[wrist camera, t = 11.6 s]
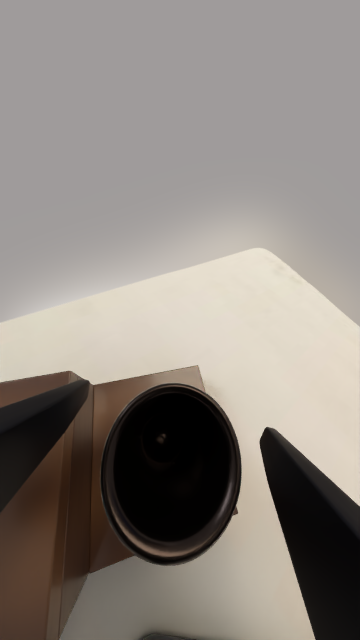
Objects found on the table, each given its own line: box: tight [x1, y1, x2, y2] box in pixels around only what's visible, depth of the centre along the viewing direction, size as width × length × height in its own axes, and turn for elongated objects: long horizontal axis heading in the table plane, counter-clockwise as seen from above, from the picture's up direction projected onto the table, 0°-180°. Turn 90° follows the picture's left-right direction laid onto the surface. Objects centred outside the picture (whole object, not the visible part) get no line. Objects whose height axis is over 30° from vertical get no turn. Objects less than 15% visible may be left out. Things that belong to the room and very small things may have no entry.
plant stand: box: [0, 365, 238, 640], centre depth 12 cm, size 11×20×8 cm, turn 102°
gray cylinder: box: [100, 383, 242, 566], centre depth 10 cm, size 4×4×10 cm
